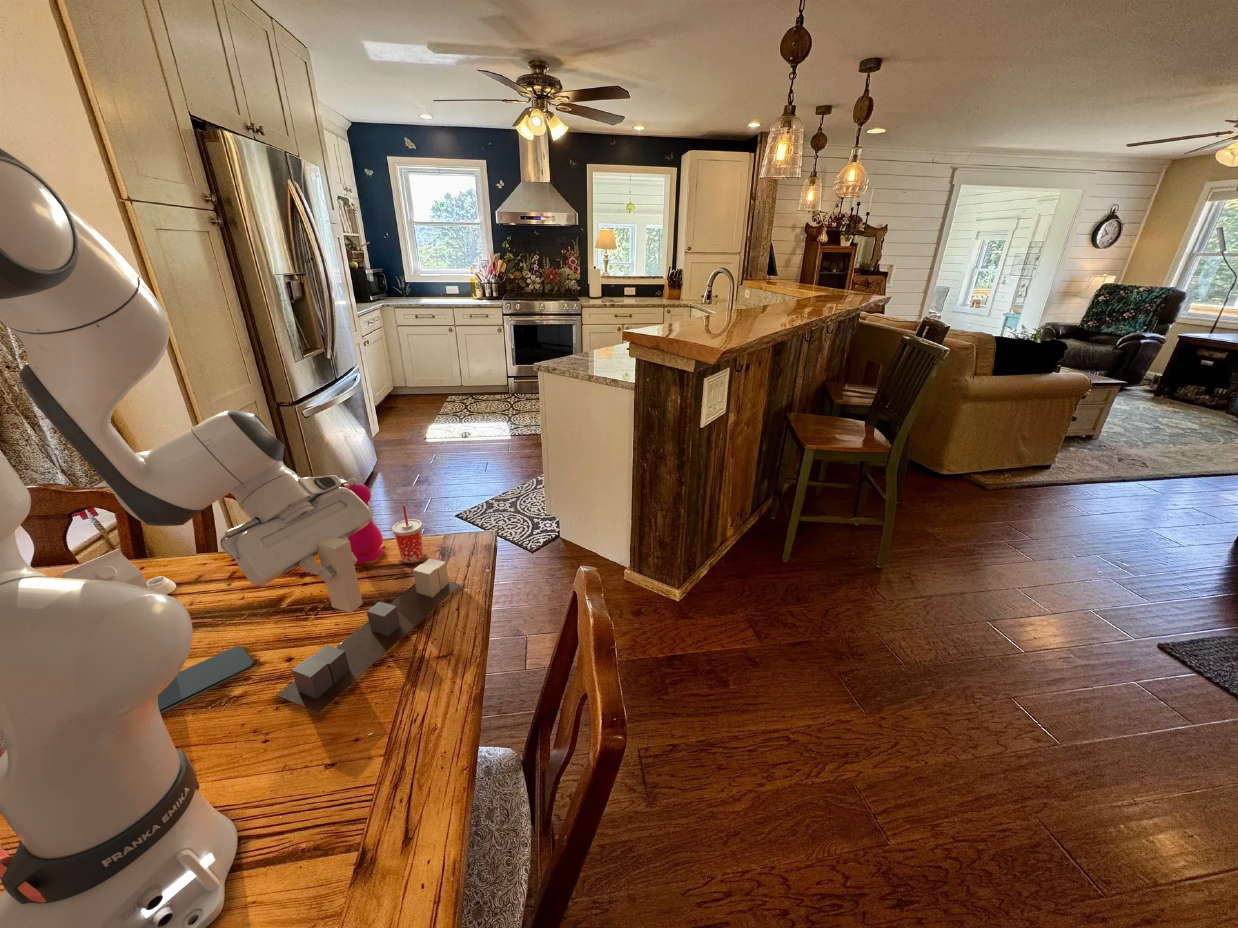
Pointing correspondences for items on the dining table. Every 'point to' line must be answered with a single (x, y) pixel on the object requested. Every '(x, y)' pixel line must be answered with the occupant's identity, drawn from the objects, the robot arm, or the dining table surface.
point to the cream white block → (430, 577)
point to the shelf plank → (371, 645)
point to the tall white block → (340, 574)
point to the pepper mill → (365, 530)
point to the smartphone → (204, 677)
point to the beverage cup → (409, 538)
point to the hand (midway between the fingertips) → (342, 571)
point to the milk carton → (108, 570)
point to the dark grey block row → (339, 655)
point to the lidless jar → (161, 585)
